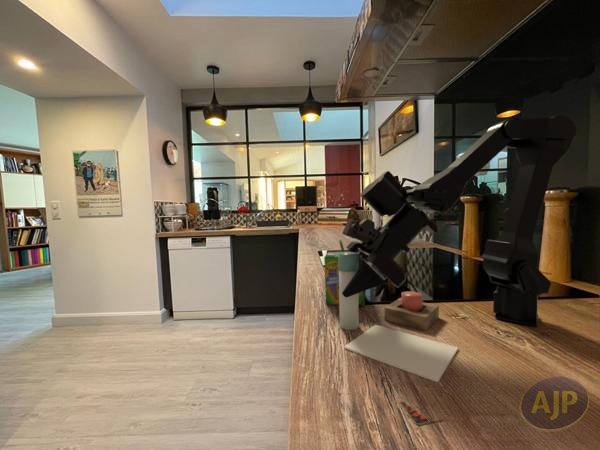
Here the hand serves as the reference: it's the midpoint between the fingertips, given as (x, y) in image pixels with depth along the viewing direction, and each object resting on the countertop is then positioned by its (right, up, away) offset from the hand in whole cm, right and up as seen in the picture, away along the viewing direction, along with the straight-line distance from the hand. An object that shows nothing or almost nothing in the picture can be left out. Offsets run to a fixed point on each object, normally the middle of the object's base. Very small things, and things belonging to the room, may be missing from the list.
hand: (341, 292), depth 53 cm
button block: (+15, -6, +3) cm, 16 cm away
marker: (+1, -7, 0) cm, 7 cm away
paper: (+8, -7, -9) cm, 14 cm away
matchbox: (+6, -8, -22) cm, 24 cm away
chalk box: (+3, -6, +16) cm, 18 cm away
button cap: (+15, -5, +3) cm, 16 cm away
